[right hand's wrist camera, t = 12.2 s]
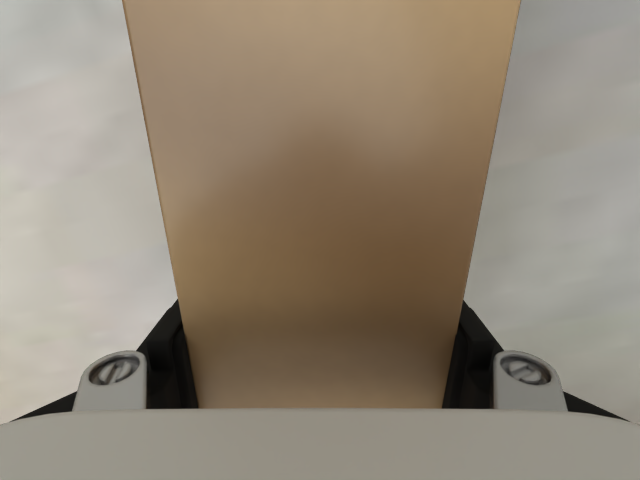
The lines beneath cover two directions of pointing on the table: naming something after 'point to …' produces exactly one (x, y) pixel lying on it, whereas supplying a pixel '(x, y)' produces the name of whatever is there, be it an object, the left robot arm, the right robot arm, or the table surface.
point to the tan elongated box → (320, 187)
